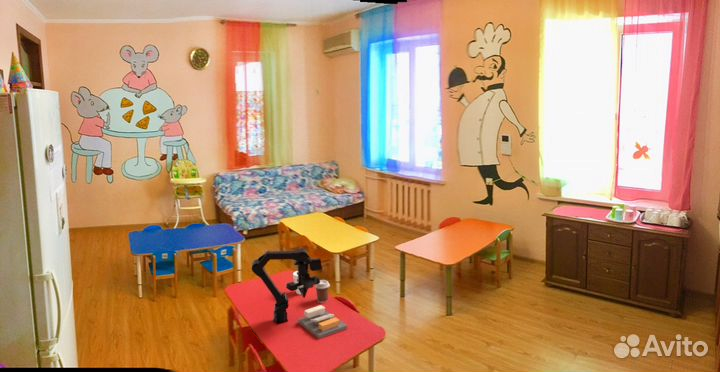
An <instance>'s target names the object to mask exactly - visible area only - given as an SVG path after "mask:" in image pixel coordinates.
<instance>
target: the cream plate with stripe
mask: <svg viewBox="0 0 720 372" xmlns="http://www.w3.org/2000/svg"><path fill="white" fill-rule="evenodd" d="M333 316H334V317H335V314H334V313H330V314H325V315H322V316H319V317H316V318H313V319H311V321H314V322H318V321H321V320H324V319H327V318H330V317H333Z"/></svg>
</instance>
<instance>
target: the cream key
mask: <svg viewBox="0 0 720 372" xmlns="http://www.w3.org/2000/svg"><path fill="white" fill-rule="evenodd" d="M325 311H326V307H325V306H324V305H317V306H314V307H311V308H308V309H305V310H304V316H305V317H307V318H310V317H313V316H316V315H319V314H322V313H325Z"/></svg>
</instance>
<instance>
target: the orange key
mask: <svg viewBox="0 0 720 372" xmlns="http://www.w3.org/2000/svg"><path fill="white" fill-rule="evenodd" d="M334 317H335V318H332V319H329V320H326V321H324V322H321V323H319V329H320V330H322V331H325V330H328V329H331V328H334V327H336V326H339V325H340V321H341V320H340V319H339V318H337V316H334Z"/></svg>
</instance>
